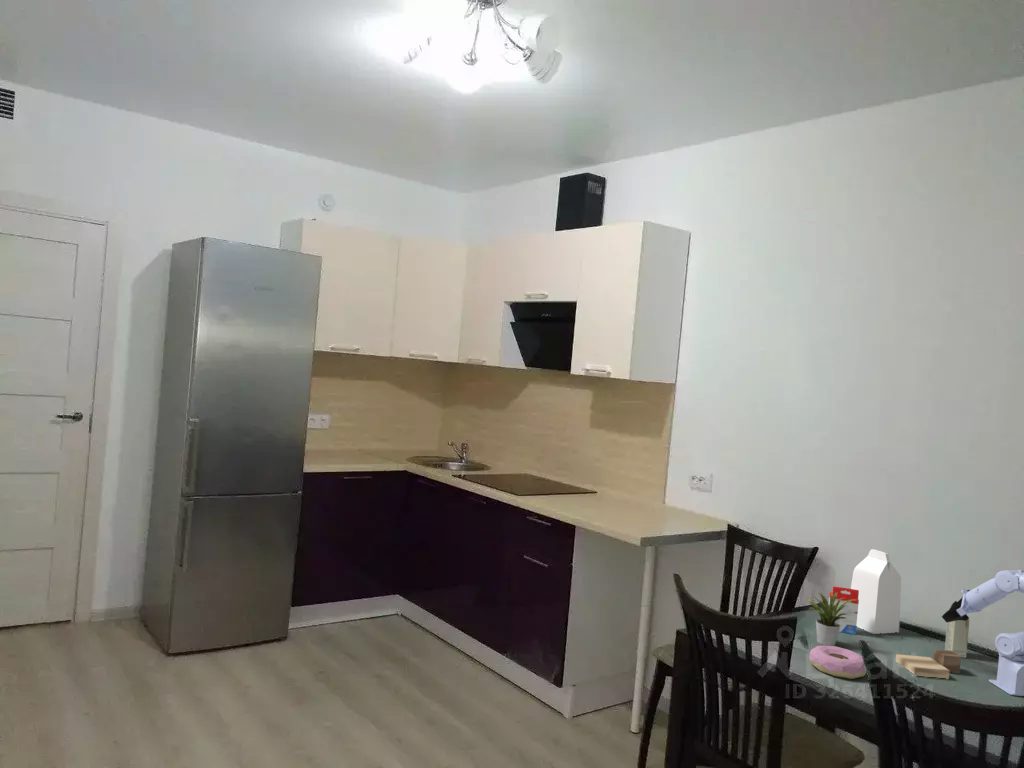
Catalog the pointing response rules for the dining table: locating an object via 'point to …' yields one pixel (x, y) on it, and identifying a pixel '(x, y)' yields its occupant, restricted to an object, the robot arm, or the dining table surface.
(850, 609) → the ink box
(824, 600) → the house plant
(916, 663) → the oak block
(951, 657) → the walnut cube
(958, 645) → the skincare box
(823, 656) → the donut
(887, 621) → the milk
